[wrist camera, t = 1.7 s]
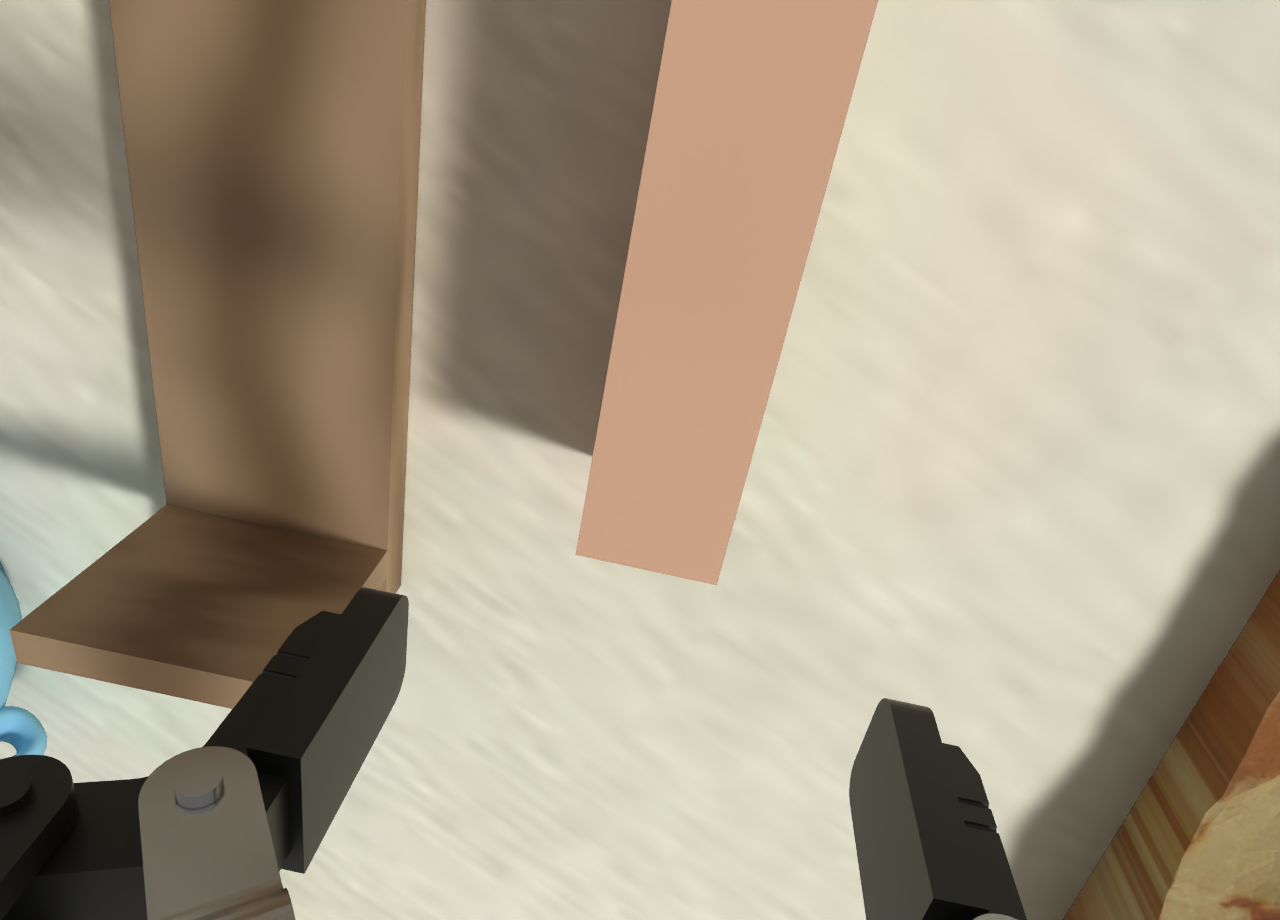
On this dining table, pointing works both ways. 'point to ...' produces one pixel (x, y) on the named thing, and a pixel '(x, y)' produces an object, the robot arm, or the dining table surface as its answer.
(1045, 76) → the dining table surface
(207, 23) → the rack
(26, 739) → the decorative pot
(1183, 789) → the decorative slab
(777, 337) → the salmon pink rectangular block
